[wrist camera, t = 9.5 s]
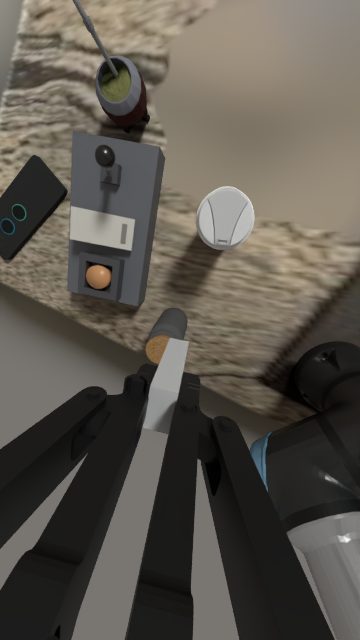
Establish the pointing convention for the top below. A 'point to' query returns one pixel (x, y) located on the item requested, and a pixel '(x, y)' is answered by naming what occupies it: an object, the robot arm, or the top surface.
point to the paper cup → (225, 218)
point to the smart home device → (27, 205)
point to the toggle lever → (105, 158)
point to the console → (115, 213)
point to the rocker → (101, 228)
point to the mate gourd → (118, 84)
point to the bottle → (165, 333)
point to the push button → (99, 276)
